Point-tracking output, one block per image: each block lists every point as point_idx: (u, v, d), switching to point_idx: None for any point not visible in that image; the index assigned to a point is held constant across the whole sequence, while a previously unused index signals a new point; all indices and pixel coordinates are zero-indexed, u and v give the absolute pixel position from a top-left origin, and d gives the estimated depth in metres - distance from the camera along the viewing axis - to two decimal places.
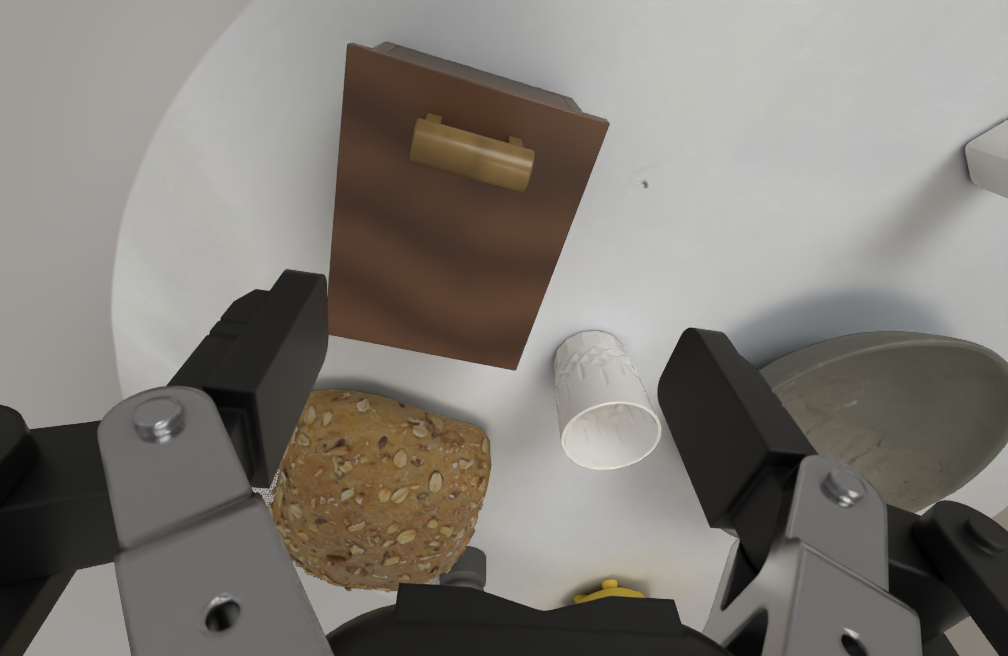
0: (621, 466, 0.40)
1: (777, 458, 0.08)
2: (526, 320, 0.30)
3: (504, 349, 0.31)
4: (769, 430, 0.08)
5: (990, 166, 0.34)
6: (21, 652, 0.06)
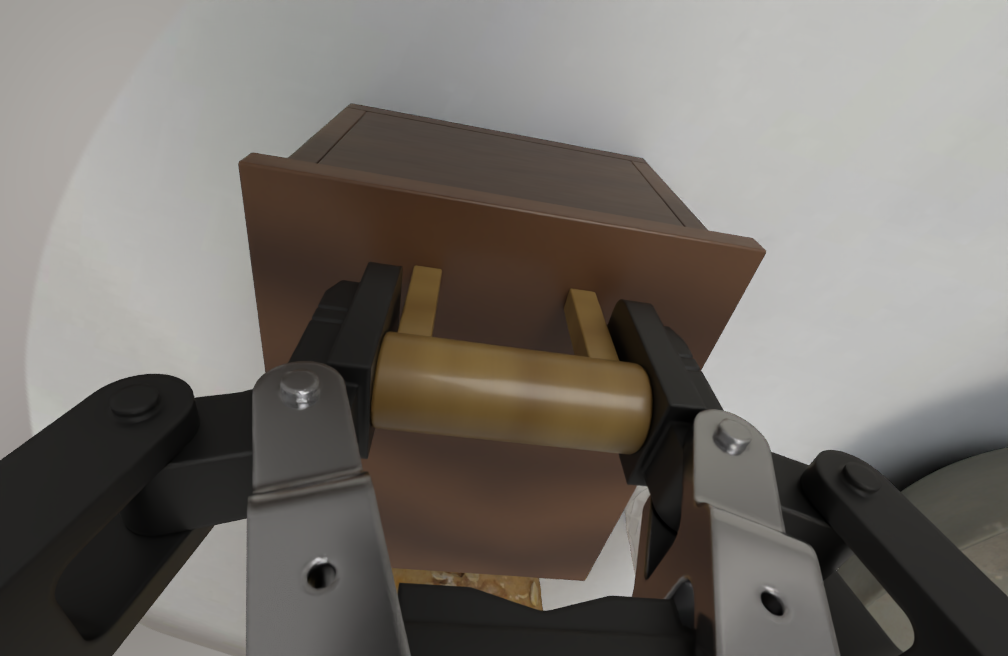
0: None
1: (679, 413, 0.08)
2: (601, 527, 0.19)
3: (567, 560, 0.20)
4: (675, 388, 0.09)
5: None
6: (152, 599, 0.06)
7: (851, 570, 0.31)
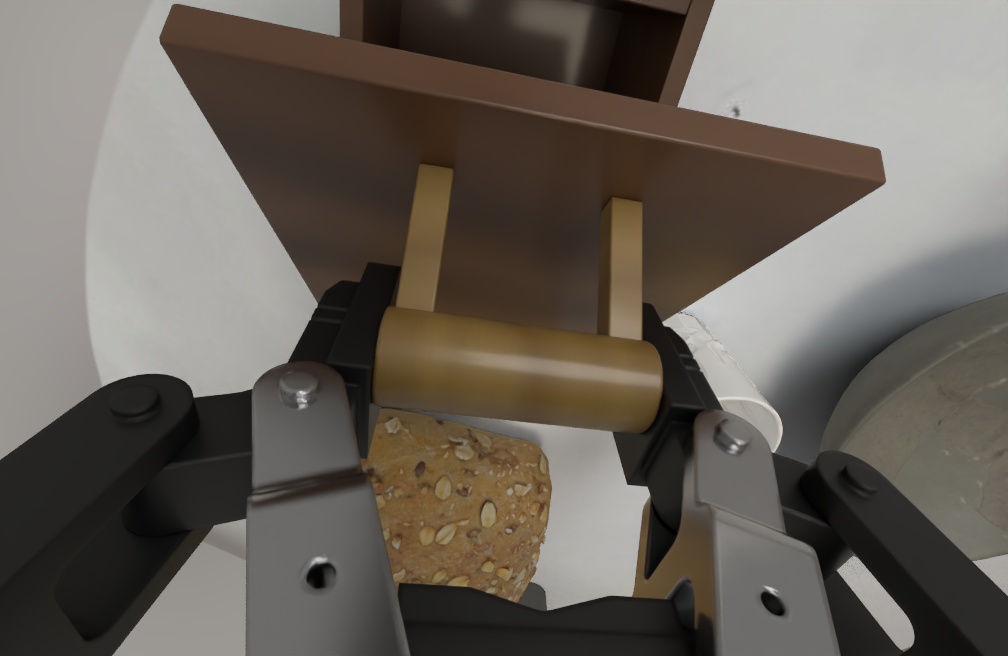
0: None
1: (679, 413, 0.08)
2: None
3: None
4: (675, 388, 0.09)
5: None
6: (151, 600, 0.06)
7: (835, 419, 0.34)
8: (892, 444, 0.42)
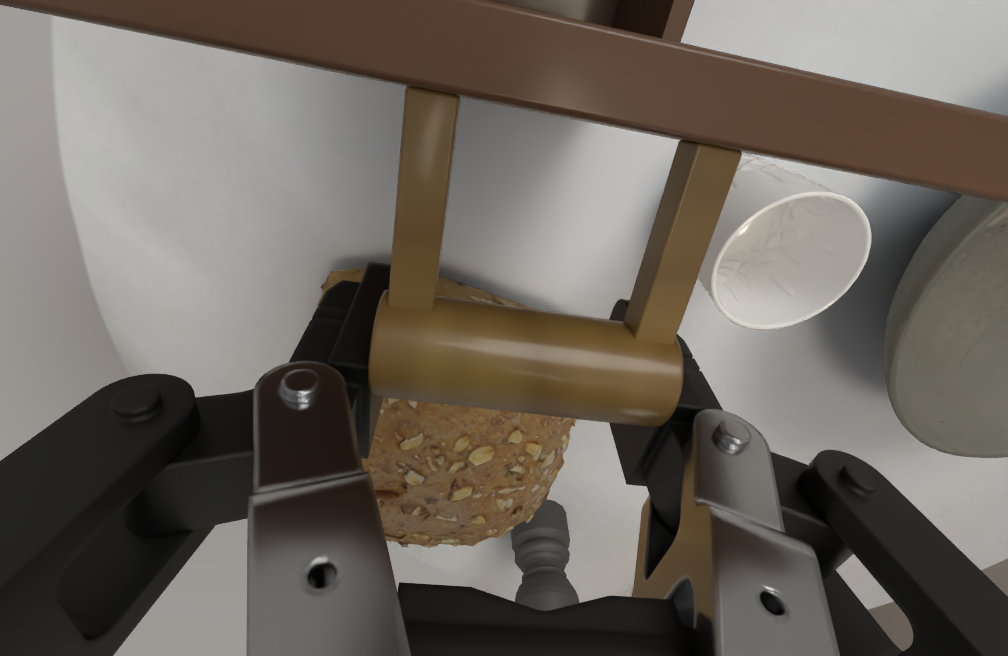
0: (797, 320, 0.27)
1: (678, 413, 0.08)
2: None
3: None
4: None
5: None
6: (153, 599, 0.06)
7: (915, 264, 0.29)
8: (960, 326, 0.38)
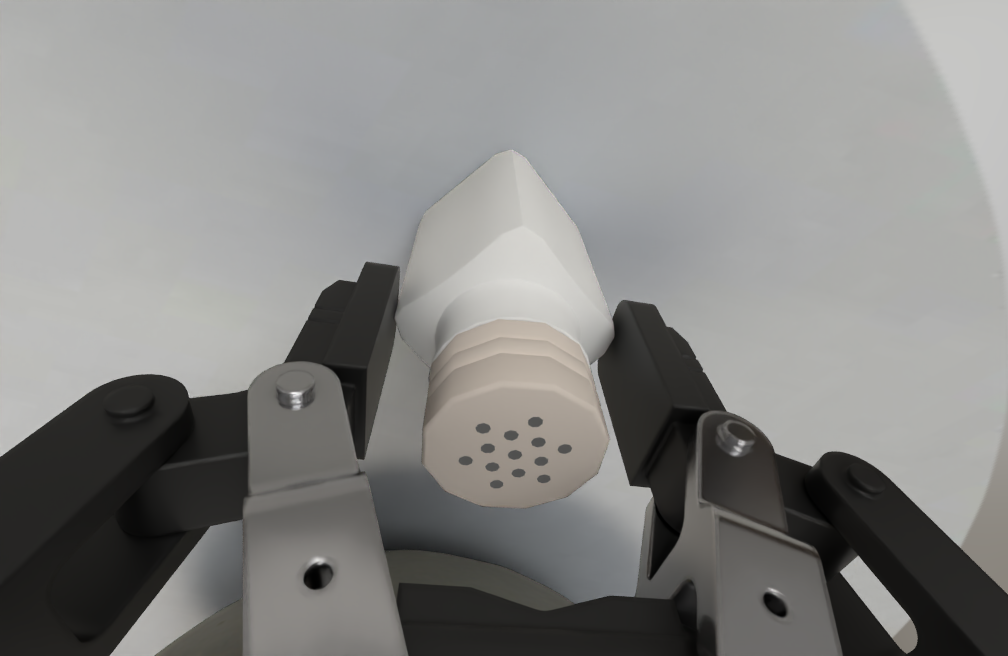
0: None
1: (682, 414, 0.08)
2: None
3: None
4: (678, 389, 0.09)
5: None
6: (148, 601, 0.06)
7: None
8: None
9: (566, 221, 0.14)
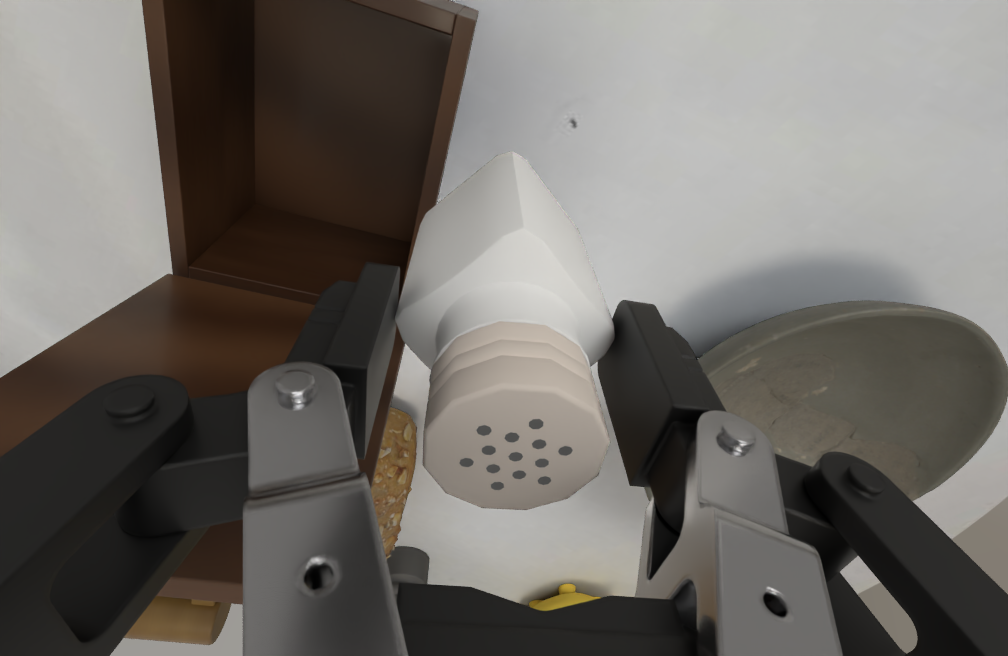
0: None
1: (682, 414, 0.08)
2: None
3: None
4: (678, 389, 0.09)
5: None
6: (148, 601, 0.06)
7: None
8: None
9: (566, 223, 0.14)
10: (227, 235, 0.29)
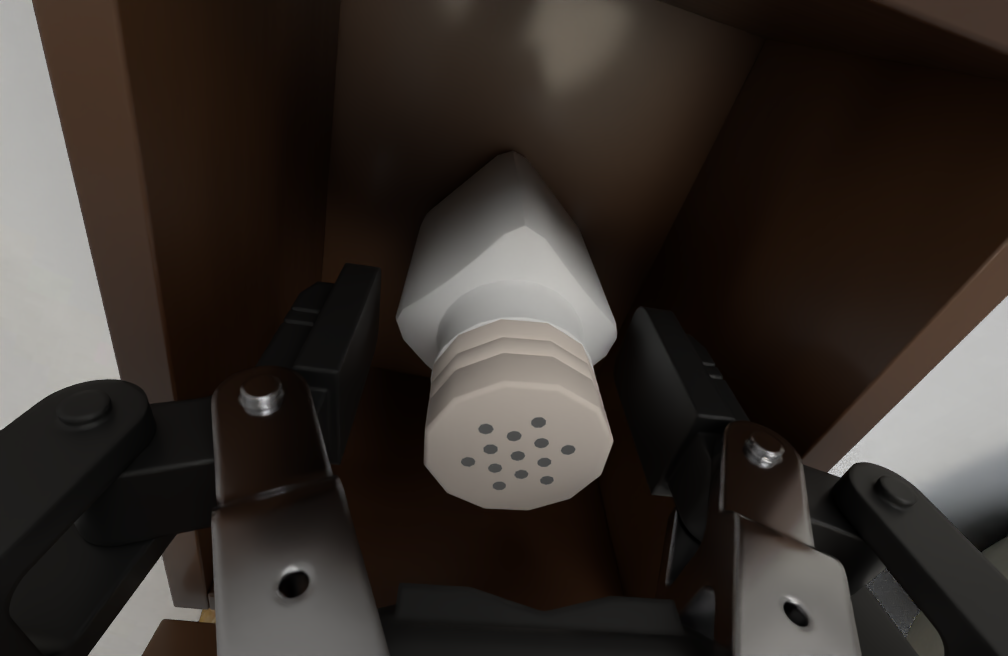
0: None
1: (707, 424, 0.08)
2: None
3: None
4: (702, 398, 0.08)
5: None
6: (115, 611, 0.06)
7: None
8: None
9: (568, 222, 0.14)
10: None
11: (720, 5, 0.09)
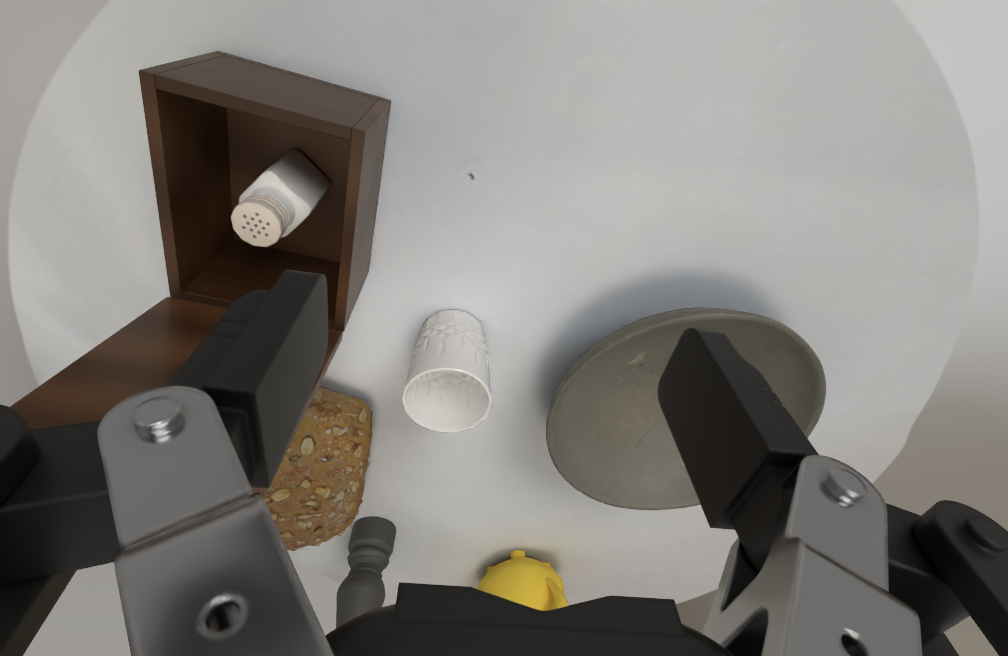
0: (464, 429, 0.44)
1: (777, 458, 0.08)
2: None
3: None
4: (769, 430, 0.08)
5: None
6: (19, 652, 0.06)
7: None
8: (635, 420, 0.57)
9: (314, 175, 0.38)
10: (210, 266, 0.39)
11: None
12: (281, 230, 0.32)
